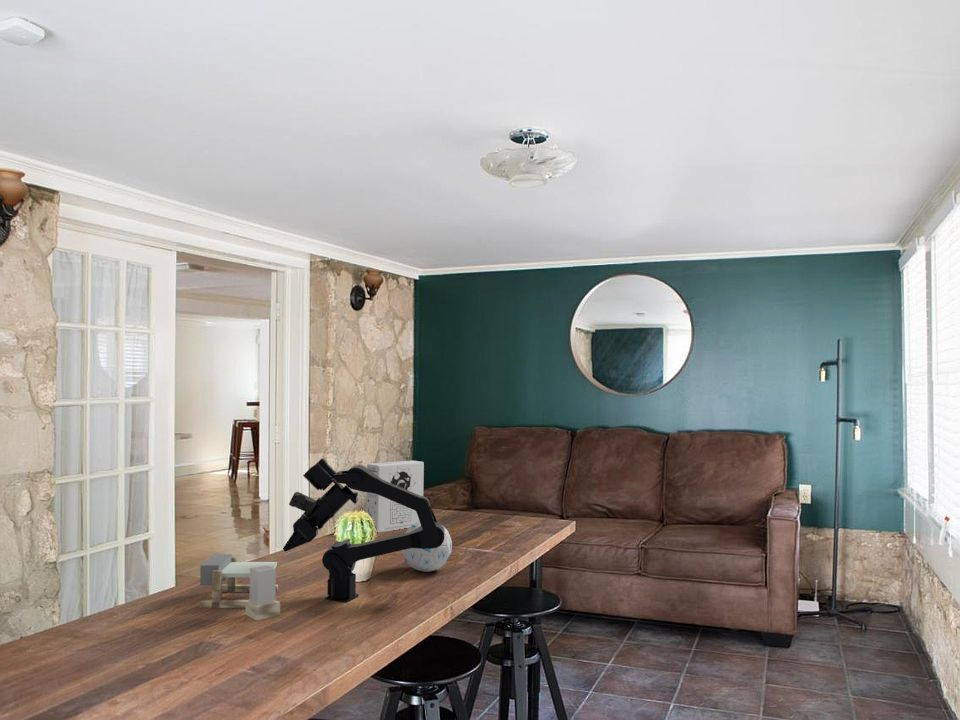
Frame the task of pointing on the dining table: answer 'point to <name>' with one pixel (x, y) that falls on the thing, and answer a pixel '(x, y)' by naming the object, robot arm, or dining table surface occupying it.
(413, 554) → the puzzle ball
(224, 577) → the trapdoor
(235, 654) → the dining table surface
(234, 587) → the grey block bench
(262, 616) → the stone riser
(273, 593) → the grey tall block
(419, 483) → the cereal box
